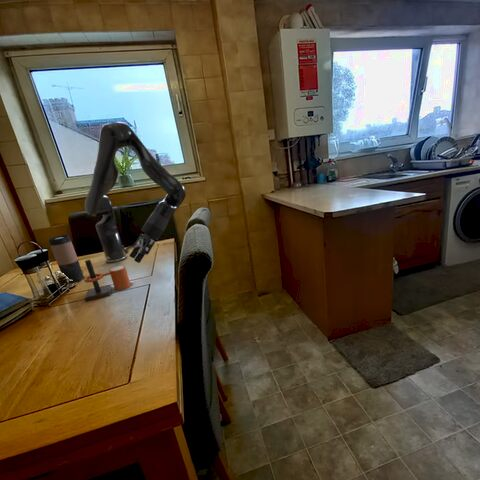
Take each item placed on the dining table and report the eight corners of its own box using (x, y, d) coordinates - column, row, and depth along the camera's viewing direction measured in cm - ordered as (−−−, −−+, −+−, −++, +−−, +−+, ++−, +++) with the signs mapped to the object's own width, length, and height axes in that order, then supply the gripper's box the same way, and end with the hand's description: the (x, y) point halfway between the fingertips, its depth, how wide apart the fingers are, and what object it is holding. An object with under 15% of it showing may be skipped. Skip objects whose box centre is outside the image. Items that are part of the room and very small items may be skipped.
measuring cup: (128, 282, 116) (123, 264, 113) (132, 286, 111) (126, 267, 108) (89, 294, 108) (82, 275, 105) (91, 299, 103) (84, 280, 100)
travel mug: (88, 275, 129) (73, 234, 122) (76, 283, 122) (59, 239, 115) (73, 276, 130) (57, 235, 123) (60, 283, 123) (43, 240, 116)
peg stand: (89, 293, 109) (77, 259, 104) (111, 287, 112) (100, 255, 107) (86, 301, 102) (72, 266, 97) (109, 295, 105) (98, 261, 100)
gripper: (142, 218, 117) (121, 251, 115) (152, 222, 106) (129, 258, 104) (158, 228, 122) (138, 259, 120) (169, 232, 111) (147, 267, 109)
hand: (134, 259), depth 112 cm, fingers open, 8 cm apart
